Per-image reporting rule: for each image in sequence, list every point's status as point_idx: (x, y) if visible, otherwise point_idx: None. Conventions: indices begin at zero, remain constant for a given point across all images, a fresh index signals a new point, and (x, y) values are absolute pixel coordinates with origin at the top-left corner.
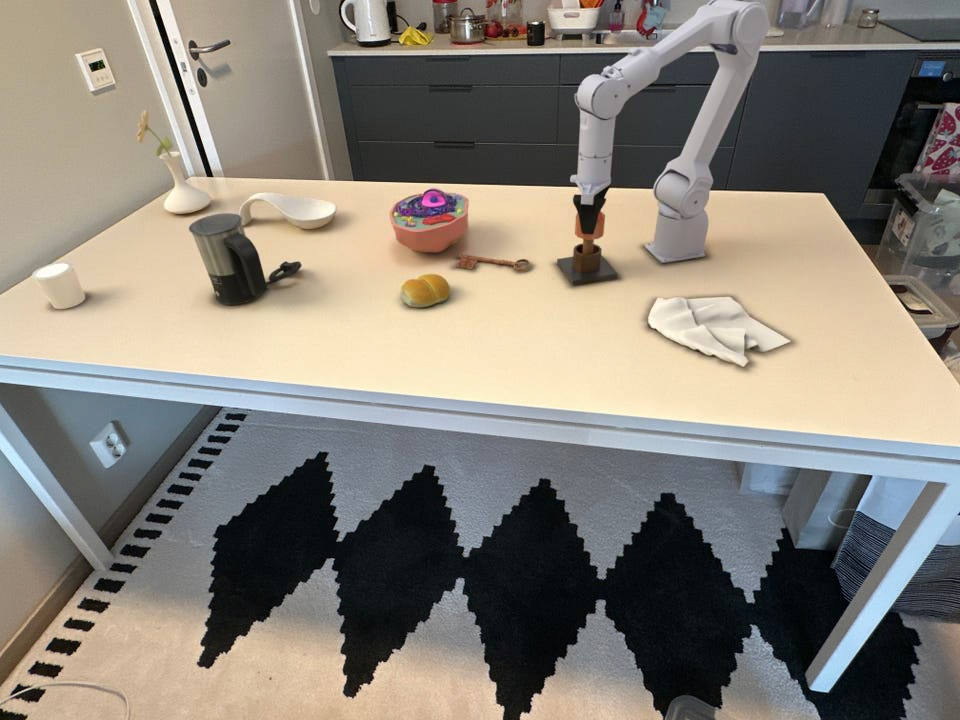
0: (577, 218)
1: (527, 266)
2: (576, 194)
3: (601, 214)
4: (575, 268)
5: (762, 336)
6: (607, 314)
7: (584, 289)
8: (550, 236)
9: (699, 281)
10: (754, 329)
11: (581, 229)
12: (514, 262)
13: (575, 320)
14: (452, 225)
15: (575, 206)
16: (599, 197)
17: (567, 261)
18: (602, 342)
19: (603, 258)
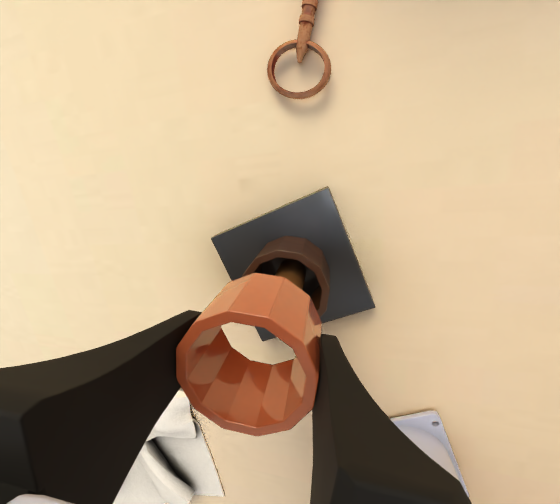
0: (207, 315)
1: (284, 93)
2: (22, 433)
3: (270, 421)
4: (266, 244)
5: (126, 497)
6: (124, 304)
7: (207, 262)
8: (546, 144)
9: (274, 469)
10: (139, 495)
11: (176, 316)
12: (300, 37)
13: (87, 244)
14: None
15: (11, 369)
16: (313, 491)
17: (314, 219)
18: (40, 291)
19: (337, 315)
